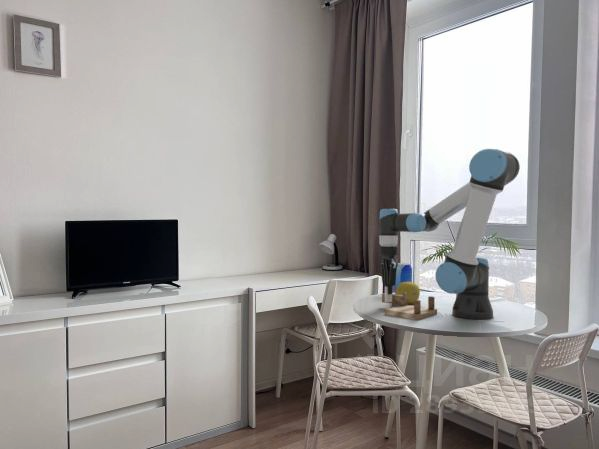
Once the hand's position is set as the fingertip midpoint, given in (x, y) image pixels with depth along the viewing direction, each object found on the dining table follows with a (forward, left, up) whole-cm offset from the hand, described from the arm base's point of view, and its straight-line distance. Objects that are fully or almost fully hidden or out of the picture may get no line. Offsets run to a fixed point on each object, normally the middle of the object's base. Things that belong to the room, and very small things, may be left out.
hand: (388, 301), depth 195 cm
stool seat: (-12, +2, -3) cm, 13 cm away
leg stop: (0, -7, -3) cm, 8 cm away
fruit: (+1, -18, -4) cm, 19 cm away
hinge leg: (-1, -3, -1) cm, 3 cm away
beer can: (+13, -35, -4) cm, 38 cm away
